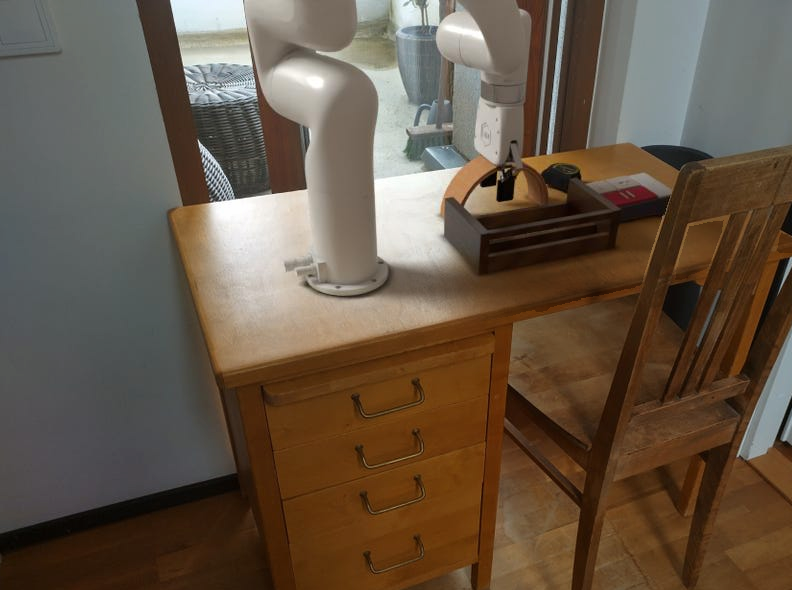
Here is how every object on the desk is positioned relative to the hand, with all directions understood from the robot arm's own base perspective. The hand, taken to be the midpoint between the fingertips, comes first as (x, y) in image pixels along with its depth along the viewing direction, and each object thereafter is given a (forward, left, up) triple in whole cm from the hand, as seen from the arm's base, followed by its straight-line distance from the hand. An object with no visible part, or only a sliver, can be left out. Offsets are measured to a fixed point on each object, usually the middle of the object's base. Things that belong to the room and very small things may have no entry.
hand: (496, 192), depth 129 cm
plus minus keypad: (+24, -7, -4) cm, 25 cm away
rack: (0, -13, -4) cm, 14 cm away
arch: (0, 0, -4) cm, 4 cm away
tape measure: (+17, +5, -4) cm, 18 cm away
